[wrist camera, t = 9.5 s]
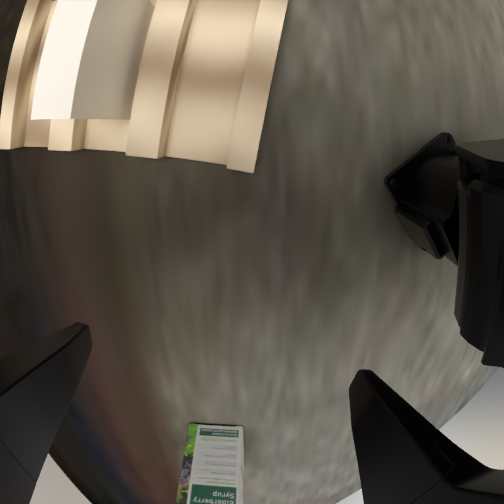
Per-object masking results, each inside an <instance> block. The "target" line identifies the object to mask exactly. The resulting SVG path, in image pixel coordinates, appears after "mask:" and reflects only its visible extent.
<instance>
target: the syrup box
mask: <svg viewBox="0 0 504 504" xmlns="http://www.w3.org/2000/svg"><path fill="white" fill-rule="evenodd" d="M243 474H244V438H243V427H242V426H234V427H233V426H213V425H200V424H193V423H191V424H189V428H188V434H187V440H186V445H185V451H184V457H183V463H182V469H181V475H180V480H179V487H178V493H177V499H176V504H243Z"/></svg>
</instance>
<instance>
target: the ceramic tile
mask: <svg viewBox="0 0 504 504" xmlns="http://www.w3.org/2000/svg"><path fill="white" fill-rule="evenodd" d="M154 9H155V6H154V5H153V4H152V3H151V2H150V1H149V0H58V1H57V4H56V7H55V10H54V13H53V16H52V19H51V22H50V26H49V29H48V33H47V36H46V40H45V44H44V48H43V52H42V56H41V60H40V65H39V70H38V75H37V80H36V85H35V91H34V98H33V105H32V112H31V120H38V119H116V120H130V118H131V111H132V105H133V99H134V93H135V88H136V83H137V78H138V73H139V68H140V63H141V59H142V54H143V50H144V46H145V42H146V38H147V34H148V30H149V26H150V23H151V19H152V15H153V12H154Z"/></svg>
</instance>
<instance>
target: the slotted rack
mask: <svg viewBox="0 0 504 504" xmlns="http://www.w3.org/2000/svg"><path fill="white" fill-rule="evenodd" d="M57 1H58V0H55V1H52V0H28V1H27V3H26V6H25V9H24V12H23V15H22V18H21V21H20V24H19V28H18V31H17V35H16V38H15V42H14V46H13V50H12V54H11V58H10V63H9V67H8V72H7V77H6V83H5V89H4V95H3V102H2V110H1V119H0V149H13V148H18V147H24V146H27V147H48V150H60V151H74V150H80V149H96V150H109V151H121V152H126V155H127V156H137V157H146V158H155V159H158V158H161V157H165V156H167V157H175V158H183V159H190V160H197V161H204V162H211V163H217V164H223V165H227V168H226V169H232V170H238V171H244V172H249V173H254V168H255V163H256V157H257V152H258V147H259V142H260V137H261V131H262V126H263V121H264V116H265V111H266V106H267V101H268V96H269V91H270V86H271V81H272V76H273V71H274V66H275V61H276V56H277V51H278V47H279V42H280V37H281V32H282V27H283V22H284V18H285V13H286V8H287V3H288V0H149V1H150V2H151V3H152V4H153V5H154V6H155V9H154V12H153V15H152V19H151V23H150V26H149V30H148V34H147V38H146V42H145V46H144V50H143V54H142V59H141V63H140V68H139V73H138V78H137V83H136V88H135V93H134V99H133V105H132V111H131V118H130V120H116V119H38V120H31V112H32V105H33V98H34V91H35V85H36V80H37V75H38V70H39V65H40V60H41V56H42V52H43V48H44V44H45V40H46V36H47V33H48V29H49V26H50V22H51V19H52V16H53V13H54V10H55V7H56V4H57Z"/></svg>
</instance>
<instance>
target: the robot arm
mask: <svg viewBox="0 0 504 504" xmlns="http://www.w3.org/2000/svg"><path fill="white" fill-rule="evenodd" d="M445 137H447V142H445ZM392 179H394V184H393V185H392V186H391V185H390V181H391V180H392ZM385 186H386V188H387V189H388V191H389V193H390V194H391V196H392V198H393V199H394V201H395V203H396V204H397V206H396V210H395V211H396V213H397V215H398V217H399V218H400V220H401V222H402V224H403V226H404V227H405V229H406V231H407V233H408V235H409V237H410V238H411V239H413V240H414V241H415V242H416V243H418V245H419V247H420V248H421V249H422V250H424V251H428V252H429V253H430V254H431V255H432V256H434V257H435V258H436V259H442V258H443V257H444V256H446V257H447V258H448V259H449V260H451V261H452V262H453V263H454V264H456V265H457V266H458V274H457V287H456V298H455V310H454V314H455V317H456V320H457V322H458V325H459V327H460V334H461V336H462V337H463V338H464V339H465V340H466V341H467V342H468V343H469V344H471V345H473V346H474V347H476V348H477V349H479V350H480V351H483V352H484V354H483V357H482V360H481V363H482V364H483V365H488V366H497V367H502V368H504V139H500V140H489V141H480V142H471V143H462V144H455V141H454V139H453V137H452V136H451V134H449V133H445V132H443V133H441V134H440V135H439V136H437V137H436V138H435V139H433V140H432V141H431V142H430V143H428V144H427V145H426V146H425V147H423V148H422V149H421V150H420V151H418V152H417V153H416V154H415V155H413V156H412V157H411V158H410V159H408V160H407V161H406V162H404V163H403V164H402V165H401V166H399V167H398V168H397V169H395V170H394V171H393V172H392V173H390V174H389V175H388V176H387V177H386V178H385ZM91 350H92V340H91V333H90V328H89V326H88V325H87V324H83V323H80V322H77V323H74V324H72V325H70V326H68V327H66V328H64V329H62V330H60V331H58V332H56V333H53V334H51V335H49V336H47V337H45V338H43V339H41V340H39V341H37V342H35V343H33V344H31V345H28V346H26V347H24V348H22V349H20V350H18V351H16V352H14V353H12V354H10V355H8V356H6V357H4V358H2V359H0V504H29V503H30V500H31V497H32V494H33V491H34V489H35V486H36V482H37V480H38V477H39V475H40V472H41V469H42V467H43V464H44V462H45V459H46V457H47V454H48V452H49V449H50V447H51V445H52V442H53V440H54V438H55V435H56V433H57V431H58V428H59V426H60V424H61V422H62V420H63V417H64V415H65V413H66V411H67V409H68V406H69V404H70V402H71V400H72V398H73V396H74V394H75V392H76V390H77V387H78V385H79V382H80V380H81V377H82V374H83V371H84V369H85V366H86V363H87V361H88V358H89V355H90V353H91ZM349 399H350V412H351V425H352V433H353V439H354V444H355V450H356V456H357V462H358V468H359V474H360V480H361V487H362V494H363V500H364V504H504V470H497V469H492V468H489V467H487V466H485V465H483V464H482V463H481V462H479V461H478V460H476V459H475V458H474V457H472V456H471V455H469V454H468V453H467V452H465V451H464V450H462V449H461V448H459V447H458V446H457V445H456V444H454V443H453V442H452V441H451V440H449V439H448V438H447V437H446V436H445V435H444V434H442V433H441V432H440V431H439V430H438V429H436V428H435V427H434V426H433V425H432V424H431V423H430V422H429V421H428V420H426V419H425V418H424V417H423V416H422V415H421V414H420V413H419V412H417V411H416V410H415V409H414V408H413V407H412V406H411V405H410V404H408V403H407V402H406V401H405V400H404V399H403V398H402V397H401V396H399V395H398V394H397V393H396V392H395V391H394V390H393V389H392V388H390V387H389V386H388V385H387V384H386V383H385V382H384V381H383V380H382V379H380V378H379V377H378V376H377V375H376V374H375V373H374V372H373V371H371V370H366V369H361V370H359V371H358V372H357V374H356V376H355V377H354V379H353V381H352V383H351V385H350V387H349Z"/></svg>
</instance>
